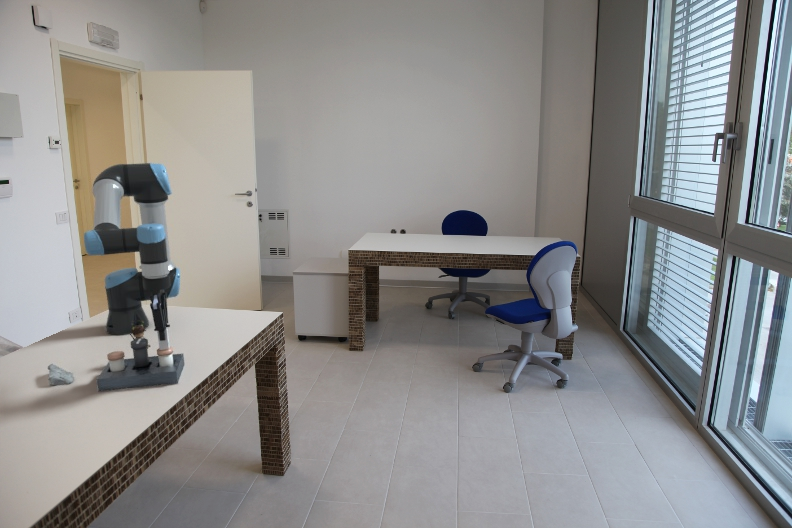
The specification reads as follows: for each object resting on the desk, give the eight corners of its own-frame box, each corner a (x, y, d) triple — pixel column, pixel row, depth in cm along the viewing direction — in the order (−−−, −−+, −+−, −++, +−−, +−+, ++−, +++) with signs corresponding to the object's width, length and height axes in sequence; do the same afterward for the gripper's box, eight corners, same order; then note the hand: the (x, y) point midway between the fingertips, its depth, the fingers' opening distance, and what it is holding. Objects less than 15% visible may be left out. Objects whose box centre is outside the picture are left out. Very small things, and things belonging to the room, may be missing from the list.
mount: (111, 372, 168) (109, 360, 167) (184, 364, 173) (183, 353, 172) (98, 391, 155) (96, 379, 154) (177, 383, 160) (176, 371, 159)
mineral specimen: (72, 372, 170) (71, 360, 170) (74, 383, 161) (72, 370, 160) (48, 376, 167) (47, 364, 166) (49, 388, 157) (47, 374, 156)
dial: (135, 361, 165) (132, 338, 163) (151, 360, 166) (149, 336, 164) (131, 368, 160) (128, 343, 158) (148, 366, 161) (145, 342, 159)
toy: (145, 365, 173) (139, 322, 169) (130, 364, 174) (124, 321, 170) (157, 358, 179) (151, 316, 175) (142, 357, 180) (137, 315, 176)
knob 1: (113, 376, 164) (109, 351, 162) (129, 374, 165) (125, 350, 163) (108, 382, 160) (105, 357, 158) (125, 381, 161) (121, 356, 159)
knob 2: (161, 371, 167) (158, 347, 165) (176, 369, 168) (173, 345, 166) (158, 377, 163) (155, 352, 161) (174, 375, 164) (171, 351, 162)
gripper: (147, 271, 163) (155, 342, 169) (137, 281, 151) (147, 358, 156) (172, 269, 165) (180, 340, 170) (165, 280, 153) (174, 355, 158)
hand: (164, 348), depth 163 cm, fingers closed
